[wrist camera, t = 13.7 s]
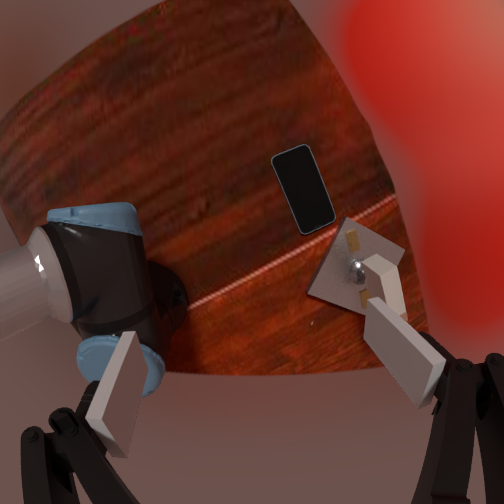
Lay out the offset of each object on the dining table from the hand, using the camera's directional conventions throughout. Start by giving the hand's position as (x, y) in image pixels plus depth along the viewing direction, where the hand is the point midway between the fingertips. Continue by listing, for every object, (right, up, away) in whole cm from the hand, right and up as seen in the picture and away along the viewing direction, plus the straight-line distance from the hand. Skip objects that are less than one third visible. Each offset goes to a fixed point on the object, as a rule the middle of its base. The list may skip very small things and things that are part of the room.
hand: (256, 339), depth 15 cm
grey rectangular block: (+21, -1, +34) cm, 40 cm away
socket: (+21, +1, +41) cm, 46 cm away
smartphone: (+9, +16, +36) cm, 40 cm away
